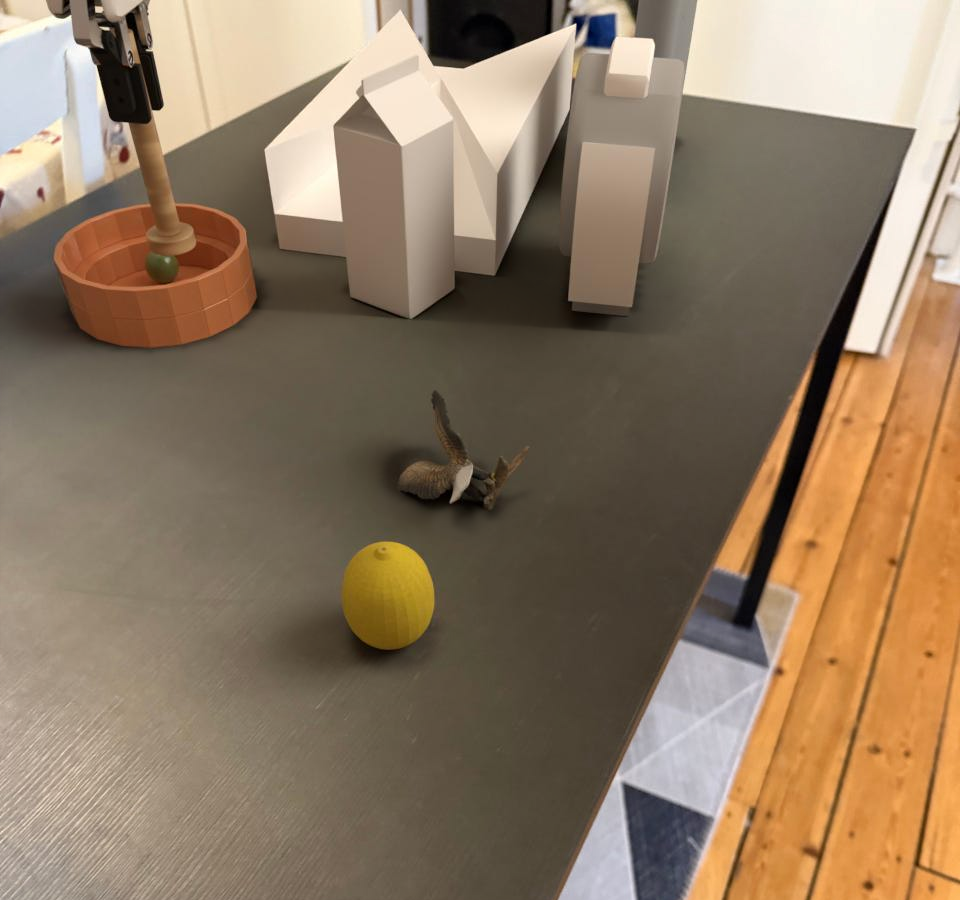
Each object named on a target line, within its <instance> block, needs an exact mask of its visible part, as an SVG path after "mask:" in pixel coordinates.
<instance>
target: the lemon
mask: <svg viewBox="0 0 960 900" xmlns="http://www.w3.org/2000/svg"><path fill="white" fill-rule="evenodd" d="M433 582H434V581H433V580H432V576H431V573H430V571H429V568H428V566H427V564H426V563H425V561H424V559H422V557H421V556H420V555H419V554H418V553H417V552H416V551H415V550H414V549H412V548H410V547H409V546H407V545H405V544H402V543H399V542H394V541H378V542H375V543H371V544H368V545H366V546H365V547H363V548H361V549H360V550H358V552H356V554H354V555H353V557H352V558H351V559H350V561H349V562H348V564H347V566H346V568H345V570H344V574H343V579H342V585H341V590H340V591H341V593H340V594H341V595H340V596H341V604H342V605H341V606H342V611H343V614H344V618H345V620H346V622H347V624H348V626H349V628H350V630H351V631H352V632H353V633H354V635H356V636H357V638H358V639H360V640H361V641H362V642H363V643H365V644H367V645H369V646H370V647H373V648H376V649H379V650H388V651H390V650H398V649H402V648H405V647H407V646H409V645H412V644H413V643H415V642H416V641H417V640H418V639H419V638H420V637H422V635H424V633H425V632H426V630H427V628H428V627H429V625H430V623H431V621H432V617H433V613H434V609H435V588H434V583H433Z"/></svg>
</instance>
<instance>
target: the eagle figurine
mask: <svg viewBox="0 0 960 900" xmlns="http://www.w3.org/2000/svg"><path fill="white" fill-rule="evenodd" d="M430 402H431V404H432V409H433V411H434V431H435V434H436V436H437V439H438V441H439V443H440V445H441V447H442V448H443V449H444V451H445V453H446V454H447V456H448V458H449V459H450V460H449V462H448V463H447V464H441V463H437V462H433V461H428V460H420V461H416V462H414V463H412V464H411V465H408V466H407V467H406V469H405V470H404V471H403V472H402V473H401V474H400V476H399V479H398V481H397V490H398V492H401V491H402V492H404V493H409V494H413V495H417V497H418V498H420V499H421V500H435V499H437V498H438V499H439V498H440V496H441V494H445V493H446V491H451V490H452V494H451V497H450V500H449V504H450V505H452V504H453V503H454V502H456V501H458V500H459V499H460V498H461V496H462V494H463V493H464V494H466V495H467V496H470V497H471V498H473V499H474V500H477V501H483V507H484V508H485V509H487V510H492V509H493V507H494V505H495V502H496V500H497V499H498V498H499V495H500V493H501V492H502V489H503V488H504V486H505V485H506V483H507V482H508V480H509V479H510V478H511V477H512V475H513V474H514V473H515V471H516V470H517V469H518V468H519V466H520V465H521V463H522V462H523V461H524V459H525V458H526V456H527V453H528V452H529V450H530V446H529V445H526V446H525V447H524V448H523V449H522V450H521V451H520V452H519V453H518V454H517V455H516V456H515V458H514V459H513V460H511V462H510V463H508V461H507V460H506V459H504V457H503V456H502V455H500V456H499V457H498V460H497V462H496V466H495V470H494V472H491V471H486V470H483V469H481V468H479V467H477V466H475V464H473V462H472V461H471V460H469V459H468V453H469V451H468V449H466V444H465V443H464V440H463V438H462V437H461V435H460V433H459V432H458V431H457V432H456V431H455V430H454V429H453V427H452V425H451V419H450V416H449V414H448V412H449V411H448V409H447V400H446V399H445V397H444V396H443V395H442V393H440V392H439V391H438V390H437V389H434V390H433V391H432V392H431V398H430ZM474 479H475V480H477V481H481V482H482V483H483V484H484V485H485V487H486V493H483V492H482V491H481V490H480V489H479V488H477V487H476V486H475V485H474V484H473V482H472V481H473V480H474Z"/></svg>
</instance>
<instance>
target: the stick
mask: <svg viewBox="0 0 960 900" xmlns="http://www.w3.org/2000/svg"><path fill="white" fill-rule="evenodd" d="M110 31H111V32H112V34H113V35H114V36H115V38H116V35H115V31H114V29H111V30H110ZM128 32H129V36H130V41H131V46H132V50H133V55H134V63H140V59H139V55H138V51H137V47H136V43H135V39H134V35H133V31H132V30H130V29H128ZM140 64H141V63H140ZM141 69H142V67H141ZM142 73H143V71H142ZM143 78H144V75H143ZM144 83H145V79H144ZM145 87H146V84H145ZM146 92H147V88H146ZM147 96H148V92H147ZM148 101H149V106H150V110H151V115H152V120H151V121H150V122H149V123H148V124H139V123H128V127H129V131H130V134H131V138H132V142H133V145H134V149H135V153H136V157H137V161H138V164H139V168H140V171H141V176H142V179H143V180H142V181H143V184H144V188H145V191H146V195H147V197H148V198H147V199H148V202H149V203H148V204H150V206H151V210H152V214H153V218H154V221H155V226H153V227H151V228H150V229H149V230H148V231H147V233H146V238H147V242H148V245H149V249H150V250H151V251H152V252H153V253H155V254H157V255H162V256H174V255H180V254H183V253H186V252H188V251H190V250H192V249H193V248H194V247H195V246H196V238H195V234H194V230H193V228H192V226H190V225H189V224H186V223H183V222H179V218H178V214H177V210H176V206H175V203H176V202H175V197H174V194H173V190H172V185H171V181H170V178H169V174H168V170H167V165H166V162H165V157H164V154H163V149H162V144H161V141H160V136H159V133H158V129H157V125H156V121H155V116H154V112H153V110H152V108H151V104H150V100H149V96H148Z"/></svg>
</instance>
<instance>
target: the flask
mask: <svg viewBox="0 0 960 900" xmlns="http://www.w3.org/2000/svg"><path fill="white" fill-rule="evenodd" d="M697 6H698V0H638V4H637V13H636V20H635V29H634V37H633V38H647V39H653V41H654V44H655V50H654V58H668V59H679V60H681V61H682V62H684V68H685V72H684V81H683V89H682V95H683V93H684V87H685V80H686V74H687V68H688V62H689V56H690V49H691V44H692V37H693V32H694V24H695V18H696V12H697ZM682 99H683V96H682V97H681V101H682ZM681 105H682V103H681V104H680V107H681Z"/></svg>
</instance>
